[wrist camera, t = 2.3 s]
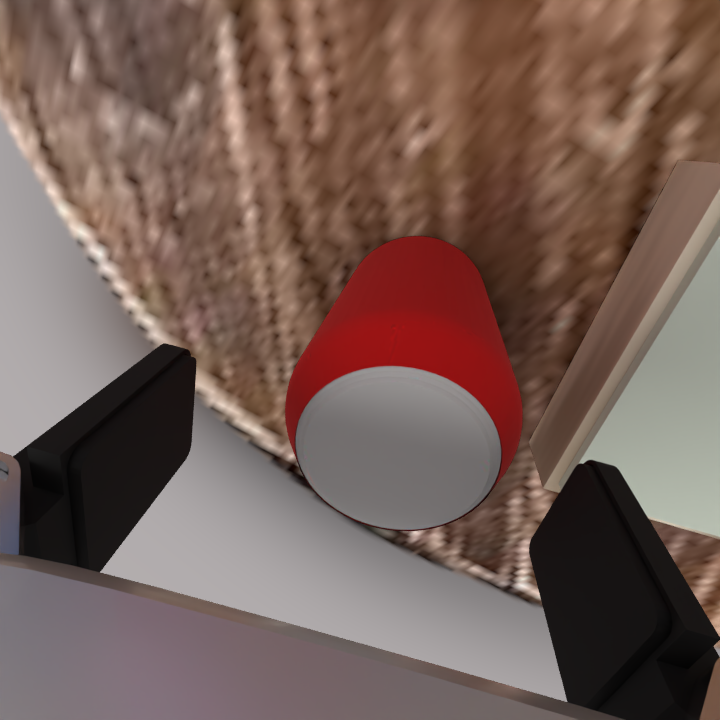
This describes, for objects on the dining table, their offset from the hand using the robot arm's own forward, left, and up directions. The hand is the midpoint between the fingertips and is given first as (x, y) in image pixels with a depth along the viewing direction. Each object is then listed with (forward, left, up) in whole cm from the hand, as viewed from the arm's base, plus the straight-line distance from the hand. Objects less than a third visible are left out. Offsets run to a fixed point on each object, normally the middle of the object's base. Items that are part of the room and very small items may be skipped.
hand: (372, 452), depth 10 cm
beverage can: (-1, 0, -12) cm, 12 cm away
